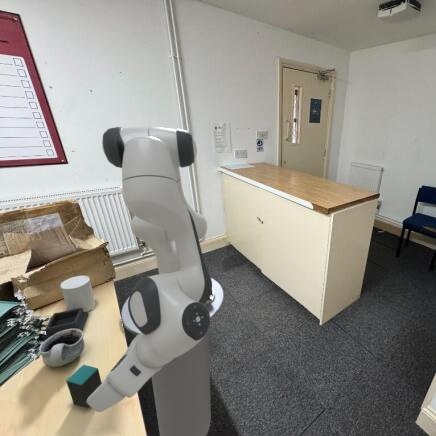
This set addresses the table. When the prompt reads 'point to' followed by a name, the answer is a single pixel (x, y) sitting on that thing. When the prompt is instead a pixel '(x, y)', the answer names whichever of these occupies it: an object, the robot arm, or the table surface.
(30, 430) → the table surface
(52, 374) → the table surface
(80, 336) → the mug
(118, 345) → the table surface
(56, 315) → the black open tray
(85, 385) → the teal and black block
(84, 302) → the cup
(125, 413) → the table surface
